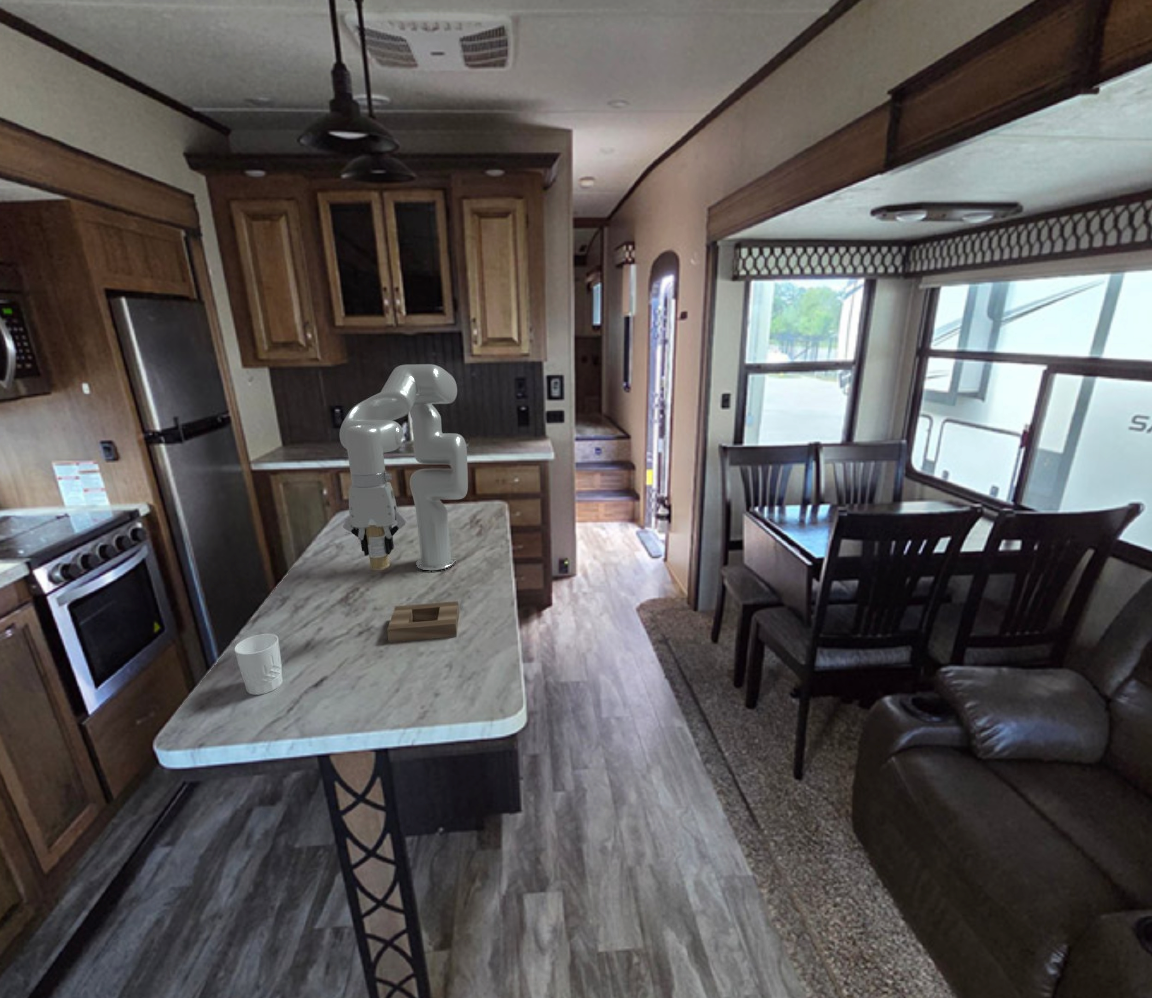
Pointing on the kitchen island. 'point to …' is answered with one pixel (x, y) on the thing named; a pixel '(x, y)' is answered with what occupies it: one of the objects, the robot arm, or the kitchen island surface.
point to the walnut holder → (424, 621)
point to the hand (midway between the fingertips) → (378, 552)
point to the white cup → (260, 663)
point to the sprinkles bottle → (376, 546)
